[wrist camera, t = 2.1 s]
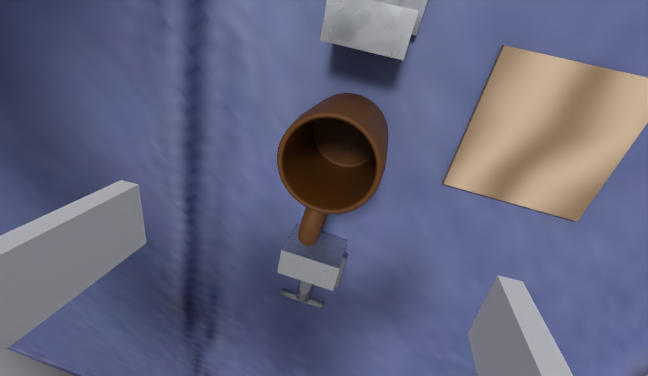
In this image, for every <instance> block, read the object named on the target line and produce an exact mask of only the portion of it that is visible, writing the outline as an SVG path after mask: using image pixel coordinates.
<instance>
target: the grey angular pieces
mask: <svg viewBox="0 0 648 376" xmlns="http://www.w3.org/2000/svg"><path fill="white" fill-rule="evenodd" d="M427 1H428V0H327V4H326V9H325V15H324V20H323V26H322V31H321V36H320V40H321V41H325V42H329V43H333V44H337V45H341V46H346V47H350V48H354V49H358V50H362V51H366V52H371V53H375V54H379V55H383V56H387V57H391V58H395V59H400V60H404V57H405V54H406V50H407V47H408V44H409V41H410V37H411V35H414V36H417V33H418V29H419V26H420V23H421V20H422V17H423V14H424V10H425V7H426V4H427ZM299 228H300V225H298V224H296V226H295V227H294V229H293V231H292V233H291V234H290V236H289V238H288V239H287V241H286V243H285V245H284V246H283V248H282V250H281V255H280V260H279V265H278V271H277V273H280V274H283V275H286V276H289V277H292V278H295V279H298V280H300V281H299V285H298V290H297V293H296V292H293V291H290V290H288V289H285V288H283V289H282V292H281V295H282V296H285V297H288V298H291V299H294V300H297V301H300V302H303V303H306V304H309V305H312V306H315V307H318V308H321V309H323V305H324V302H323V301H320V300H317V299H314V298H311V297H310V296H311V292H312V288H313V285H316V286H319V287H322V288H325V289H328V290H331V291H333V289H334V287H337V288H338V285H339V282H340V278H341V275H342V272H343V269H344V266H345V262H346V259H347V255H348V254H347V253H344V251H345V247H346V243H347V240H346V239H343V238H340V237H337V236H334V235H330V234H327V233H324V232H321V234H320V236H319V238H318V241H317V242H316V244H314V245H313V246H304V245H303V244H301V242H300V241H299V239H298V232H299Z"/></svg>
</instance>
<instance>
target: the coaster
mask: <svg viewBox="0 0 648 376" xmlns="http://www.w3.org/2000/svg"><path fill="white" fill-rule="evenodd" d="M647 123H648V78H646V77H642V76H637V75H633V74H629V73H624V72H620V71H615V70H611V69H607V68H602V67H598V66H593V65H589V64H585V63H580V62H576V61H571V60H567V59H563V58H558V57H554V56H549V55H545V54H541V53H536V52H532V51H527V50H523V49H519V48H514V47H510V46H505V45H502V48H501V50H500V52H499V55H498V57H497V59H496V61H495V64H494V66H493V68H492V71H491V73H490V75H489V77H488V80H487V82H486V84H485V87H484V89H483V91H482V94H481V96H480V98H479V100H478V103H477V105H476V107H475V110H474V112H473V114H472V116H471V119H470V121H469V123H468V126H467V128H466V130H465V133H464V135H463V137H462V139H461V142H460V144H459V146H458V149H457V151H456V153H455V156H454V158H453V160H452V162H451V165H450V167H449V169H448V172H447V174H446V176H445V178H444V181H443V184H445V185H448V186H452V187H456V188H459V189H463V190H466V191H470V192H473V193H477V194H481V195H484V196H488V197H491V198H495V199H498V200H502V201H506V202H509V203H513V204H516V205H520V206H523V207H527V208H530V209H534V210H538V211H541V212H545V213H548V214H552V215H555V216H559V217H563V218H566V219H570V220H573V221H578V220H579V218H580V217H581V216H582V214H583V213H584V211H585V210H586V209H587V207H588V206H589V204H590V203H591V201H592V200H593V199H594V197H595V196H596V194H597V193H598V192H599V190H600V189H601V187H602V186H603V185H604V183H605V182H606V180H607V179H608V178H609V176H610V175H611V173H612V172H613V171H614V169H615V168H616V166H617V165H618V163H619V162H620V161H621V159H622V158H623V156H624V155H625V154H626V152H627V151H628V149H629V148H630V147H631V145H632V144H633V142H634V141H635V140H636V138H637V137H638V135H639V134H640V132H641V131H642V130H643V128H644V127H645V125H646V124H647Z"/></svg>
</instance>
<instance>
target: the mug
mask: <svg viewBox="0 0 648 376" xmlns="http://www.w3.org/2000/svg"><path fill="white" fill-rule="evenodd" d="M387 146H388V127H387V123H386V120H385V117H384V115H383V114H382V112H381V111H380V109H379V108H378V107H377V106H376V105H375V104H374V103H373V102H372V101H370V100H369V99H367V98H365V97H363V96H361V95H357V94H352V93H342V94H337V95H334V96H331V97H329V98H327V99H325V100H323V101H322V102H320V103H319V104H317V105H316V106H314V107H312V108H311V109H310V110H308V111H307V112H305V113H304V114H302V115H301V116H300V117H299V118H298V119H297V120H296V121H295V122H294V123H293V124H292V125H291V126H290V127H289V128H288V130H287V131H286V132H285V134H284V135H283V137H282V139H281V141H280V144H279V148H278V153H277V165H278V170H279V174H280V177H281V180H282V182H283V184H284V186H285V187H286V189H287V190H288V192H289V193H290V194H291V195H292V196H293V197H294V198H295V199H296V200H297V201H298V202H300V203H301V204H302V205H304V206H306V209H305V212H304V215H303V218H302V221H301V224H300V228H299V232H298V239H299V241H300V242H301V244H303V245H304V246H313V245H314V244H316V242H317V241H318V238H319V236H320V234H321V231H322V229H323V226H324V223H325V221H326V218H327V215H328V214H340V213H346V212H349V211H352V210H354V209H357V208H359V207H360V206H362V205H363V204H365V203H366V202H367V201H368V200H369V199H370V198H371V197H372V196H373V195H374V193H375V192H376V190H377V188H378V186H379V184H380V181H381V178H382V176H383V173H384V169H385V164H386V157H387Z"/></svg>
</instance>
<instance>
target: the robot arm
mask: <svg viewBox="0 0 648 376" xmlns="http://www.w3.org/2000/svg"><path fill="white" fill-rule="evenodd" d="M146 243H147V242H146V235H145V228H144V221H143V214H142V206H141V199H140V192H139V185H138V184H135V183H131V182H127V181H123V180H120V181H118V182H116V183H114V184H111V185H109V186H107V187H105V188H103V189H101V190H98V191H96V192H94V193H92V194H90V195H88V196H85V197H83V198H81V199H79V200H77V201H75V202H72V203H70V204H68V205H66V206H64V207H62V208H59V209H57V210H55V211H53V212H51V213H49V214H46V215H44V216H42V217H40V218H38V219H36V220H33V221H31V222H29V223H27V224H25V225H23V226H20V227H18V228H16V229H14V230H12V231H9V232H7V233H5V234H3V235H1V236H0V353H1V352H3V351H4V350H6V349H7V348H8V347H10V346H11V345H12V344H14V343H15V342H16V341H18V340H19V339H20V338H22V337H23V336H24V335H26V334H27V333H28V332H30V331H31V330H32V329H33V328H35V327H36V326H37V325H39V324H40V323H41V322H43V321H44V320H45V319H47V318H48V317H49V316H51V315H52V314H53V313H55V312H56V311H57V310H59V309H60V308H61V307H63V306H64V305H65V304H67V303H68V302H69V301H71V300H72V299H73V298H74V297H76V296H77V295H78V294H80V293H81V292H82V291H84V290H85V289H86V288H88V287H89V286H90V285H92V284H93V283H94V282H96V281H97V280H98V279H100V278H101V277H102V276H104V275H105V274H106V273H108V272H109V271H110V270H111V269H113V268H114V267H115V266H117V265H118V264H119V263H121V262H122V261H123V260H125V259H126V258H127V257H129V256H130V255H131V254H133V253H134V252H135V251H137V250H138V249H139V248H141V247H142V246H143V245H145V244H146ZM468 338H469V342H470V346H471V350H472V354H473V358H474V362H475V367H476V371H477V375H478V376H573V375H572V373H571V371H570V369H569V367H568V365H567V363H566V361H565V360H564V358H563V356H562V354H561V352H560V350H559V348H558V347H557V345H556V343H555V341H554V339H553V337H552V335H551V333H550V332H549V330H548V328H547V326H546V324H545V322H544V320H543V319H542V317H541V315H540V313H539V311H538V309H537V307H536V306H535V304H534V302H533V300H532V298H531V296H530V294H529V292H528V291H527V289H526V287H525V285H524V283H523V282H522V281H518V280H514V279H510V278H506V277H502V276H498V275H497V277H496V279H495V281H494V283H493V285H492V287H491V289H490V291H489V293H488V295H487V297H486V299H485V301H484V303H483V305H482V306H481V308H480V310H479V312H478V314H477V316H476V318H475V320H474V322H473V324H472V326H471V328H470V330H469V332H468Z"/></svg>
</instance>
